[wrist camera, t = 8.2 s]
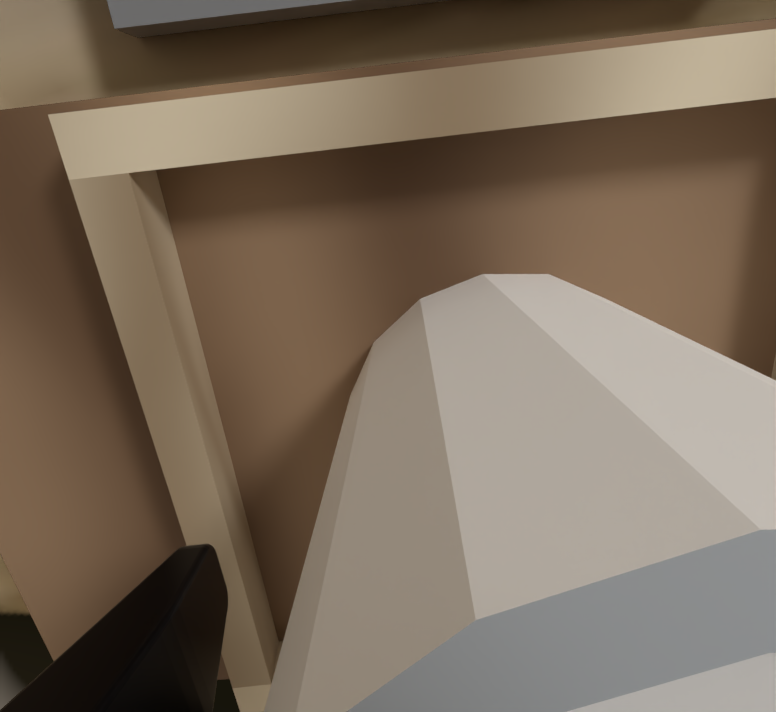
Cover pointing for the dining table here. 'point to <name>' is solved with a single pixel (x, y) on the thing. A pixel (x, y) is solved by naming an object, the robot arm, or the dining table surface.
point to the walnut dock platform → (331, 281)
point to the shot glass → (541, 518)
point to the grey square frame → (227, 12)
